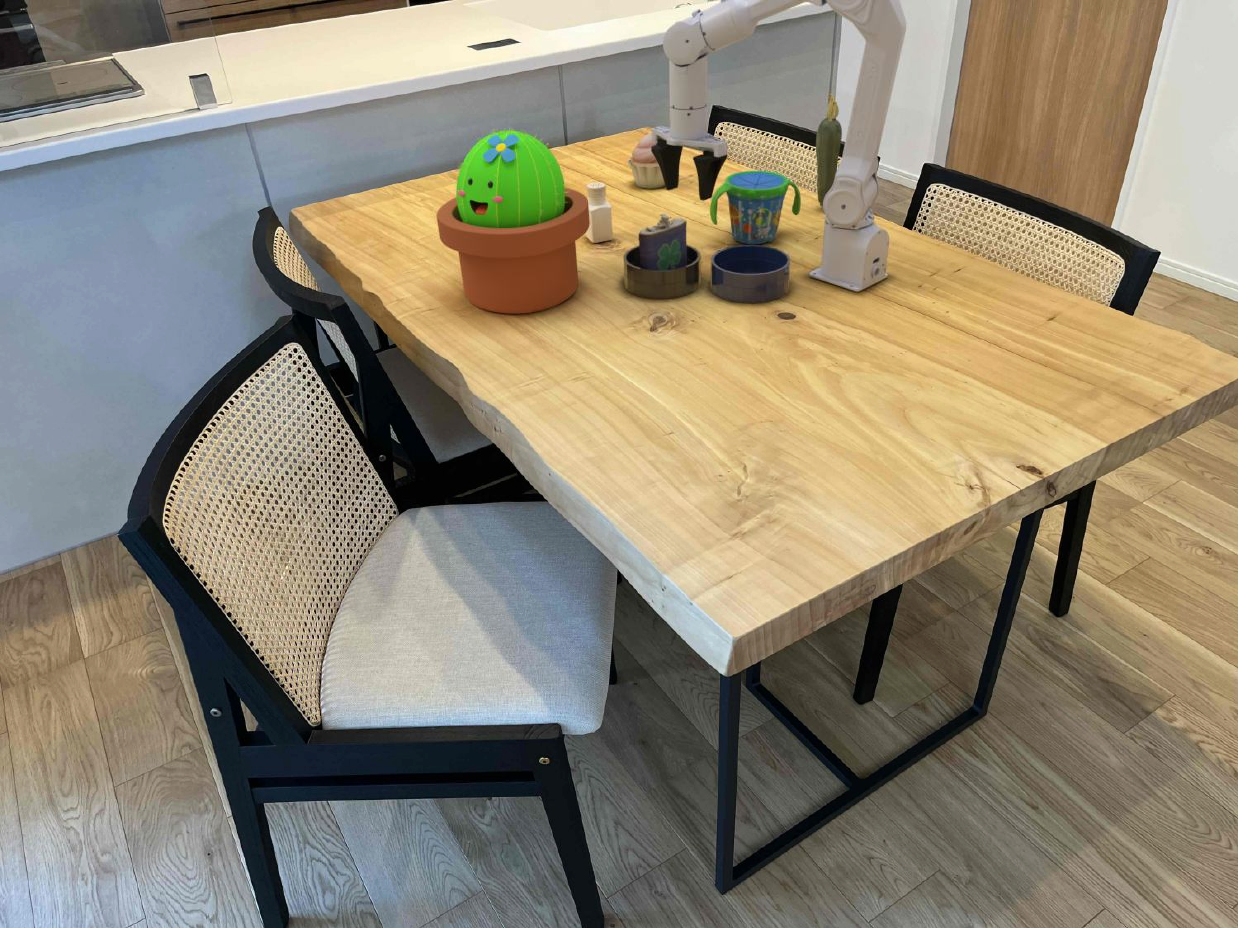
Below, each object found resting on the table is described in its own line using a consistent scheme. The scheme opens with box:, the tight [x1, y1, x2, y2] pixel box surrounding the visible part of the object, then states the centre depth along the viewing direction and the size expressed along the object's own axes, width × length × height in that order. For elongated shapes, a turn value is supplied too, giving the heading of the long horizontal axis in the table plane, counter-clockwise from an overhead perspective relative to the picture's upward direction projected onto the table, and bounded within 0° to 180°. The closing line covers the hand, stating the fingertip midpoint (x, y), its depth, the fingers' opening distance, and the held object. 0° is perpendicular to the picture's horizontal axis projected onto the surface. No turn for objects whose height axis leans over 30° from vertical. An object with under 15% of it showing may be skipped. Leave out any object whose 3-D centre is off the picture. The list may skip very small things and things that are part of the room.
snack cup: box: [709, 170, 802, 245], centre depth 158 cm, size 16×10×10 cm
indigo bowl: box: [709, 244, 792, 304], centre depth 142 cm, size 12×12×4 cm
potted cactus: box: [436, 126, 590, 314], centre depth 139 cm, size 22×22×25 cm
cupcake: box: [626, 132, 665, 190], centre depth 184 cm, size 9×9×10 cm
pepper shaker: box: [585, 181, 614, 244], centre depth 161 cm, size 4×4×10 cm
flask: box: [638, 213, 688, 270], centre depth 143 cm, size 9×3×11 cm, turn 131°
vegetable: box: [815, 93, 843, 208], centre depth 165 cm, size 4×4×20 cm
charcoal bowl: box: [622, 244, 702, 300], centre depth 145 cm, size 12×12×4 cm
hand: (688, 193), depth 149 cm, fingers open, 7 cm apart
